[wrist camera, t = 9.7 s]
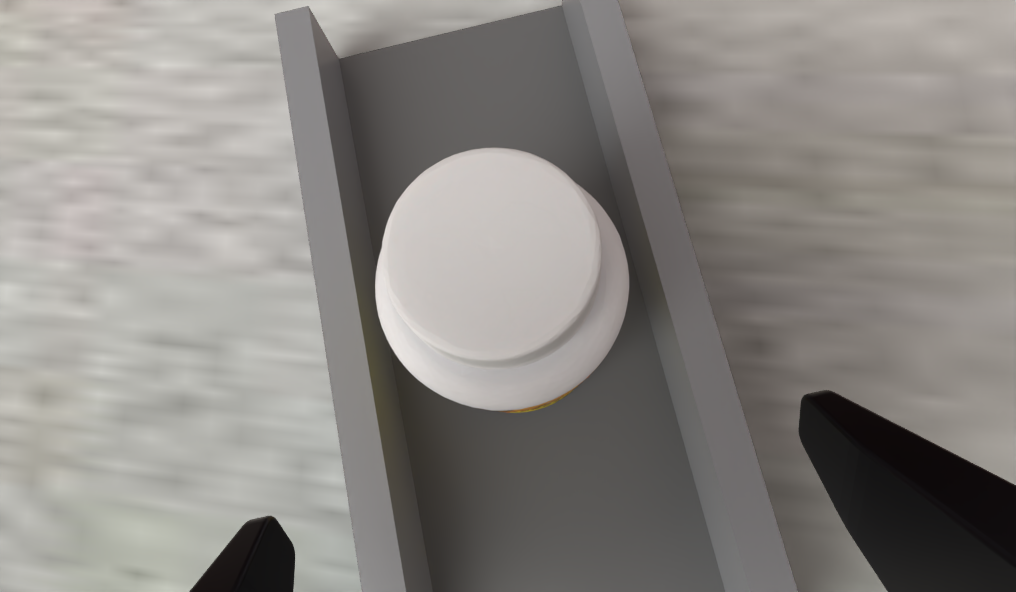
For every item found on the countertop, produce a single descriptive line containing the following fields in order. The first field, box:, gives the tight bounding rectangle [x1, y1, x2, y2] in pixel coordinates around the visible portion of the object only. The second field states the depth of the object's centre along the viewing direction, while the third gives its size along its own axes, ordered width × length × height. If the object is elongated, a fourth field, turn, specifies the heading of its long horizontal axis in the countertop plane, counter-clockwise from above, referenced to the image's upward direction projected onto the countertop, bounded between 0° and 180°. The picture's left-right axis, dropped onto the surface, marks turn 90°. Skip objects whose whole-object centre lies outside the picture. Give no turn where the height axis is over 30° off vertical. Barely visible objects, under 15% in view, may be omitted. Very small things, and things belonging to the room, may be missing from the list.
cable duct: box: [275, 0, 798, 592], centre depth 19 cm, size 24×11×4 cm, turn 12°
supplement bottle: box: [375, 148, 629, 413], centre depth 15 cm, size 6×6×10 cm
